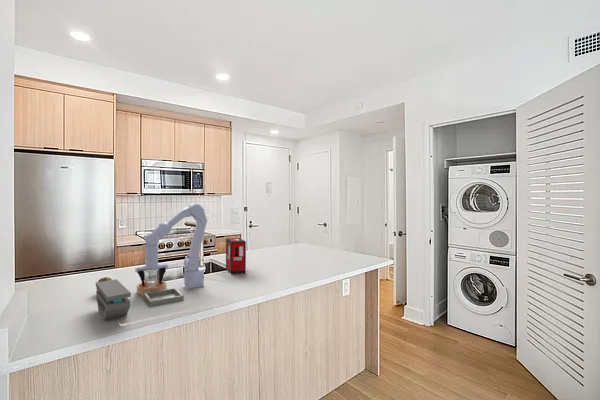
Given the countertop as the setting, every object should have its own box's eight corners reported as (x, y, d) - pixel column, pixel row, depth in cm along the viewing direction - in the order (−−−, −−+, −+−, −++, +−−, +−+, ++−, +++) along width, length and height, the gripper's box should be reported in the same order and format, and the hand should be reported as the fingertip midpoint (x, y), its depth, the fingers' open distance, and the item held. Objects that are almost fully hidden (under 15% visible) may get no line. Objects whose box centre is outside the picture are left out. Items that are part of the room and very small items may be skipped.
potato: (93, 300, 141) (93, 283, 141) (97, 292, 153) (97, 276, 153) (114, 298, 145) (114, 281, 145) (117, 290, 156) (116, 274, 156)
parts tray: (175, 293, 153) (175, 287, 153) (183, 301, 142) (183, 295, 142) (144, 298, 145) (144, 293, 145) (150, 307, 133) (150, 301, 133)
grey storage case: (95, 307, 133) (95, 282, 133) (116, 303, 138) (116, 279, 138) (107, 326, 115) (107, 297, 114) (130, 320, 120) (130, 292, 120)
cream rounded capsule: (155, 288, 157) (155, 280, 157) (157, 291, 154) (157, 282, 153) (146, 290, 154) (146, 281, 154) (148, 292, 151) (148, 283, 151)
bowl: (162, 286, 163) (162, 279, 163) (169, 293, 153) (169, 285, 153) (135, 291, 155) (134, 283, 155) (139, 298, 145) (139, 289, 145)
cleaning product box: (245, 273, 193) (245, 241, 192) (231, 274, 189) (231, 242, 189) (239, 267, 208) (239, 237, 207) (225, 268, 204) (226, 238, 204)
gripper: (137, 260, 146) (137, 289, 146) (169, 257, 155) (169, 283, 155) (134, 258, 152) (134, 285, 152) (165, 254, 160) (165, 280, 161)
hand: (151, 284), depth 154 cm, fingers open, 7 cm apart
